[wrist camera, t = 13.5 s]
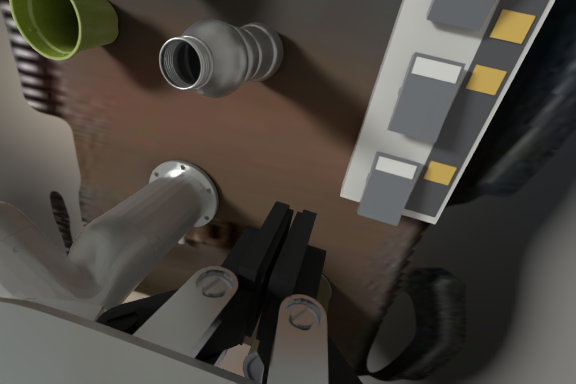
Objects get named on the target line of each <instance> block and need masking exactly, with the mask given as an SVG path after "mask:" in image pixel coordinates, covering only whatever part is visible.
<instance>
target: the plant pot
mask: <svg viewBox="0 0 576 384" xmlns="http://www.w3.org/2000/svg"><path fill="white" fill-rule="evenodd" d="M9 1H10V8H11V12H12V15H13V18H14V21H15V23H16V25H17V27H18V29H19V31H20V33H21V34H22V36H23V37H24V39H25V40H26V41H27V42H28V43H29V44H30V45H31V46H32V47H33V48H34V49H35V50H36V51H37V52H39V53H40V54H42V55H43V56H45V57H47V58H49V59H53V60H66V59H69V58H71V57H73V56H74V55H75V54H76V53H78V52H79V51H81V50H85V49H90V48H94V47H98V46H103V45H107V44H110V43H112V42H114V41H115V39H116V38H117V36H118V33H119V30H118V17H117V14H116V12H115V10H114V8H113V7H112V5H111V4H110V3H109V2H108V1H107V0H9Z"/></svg>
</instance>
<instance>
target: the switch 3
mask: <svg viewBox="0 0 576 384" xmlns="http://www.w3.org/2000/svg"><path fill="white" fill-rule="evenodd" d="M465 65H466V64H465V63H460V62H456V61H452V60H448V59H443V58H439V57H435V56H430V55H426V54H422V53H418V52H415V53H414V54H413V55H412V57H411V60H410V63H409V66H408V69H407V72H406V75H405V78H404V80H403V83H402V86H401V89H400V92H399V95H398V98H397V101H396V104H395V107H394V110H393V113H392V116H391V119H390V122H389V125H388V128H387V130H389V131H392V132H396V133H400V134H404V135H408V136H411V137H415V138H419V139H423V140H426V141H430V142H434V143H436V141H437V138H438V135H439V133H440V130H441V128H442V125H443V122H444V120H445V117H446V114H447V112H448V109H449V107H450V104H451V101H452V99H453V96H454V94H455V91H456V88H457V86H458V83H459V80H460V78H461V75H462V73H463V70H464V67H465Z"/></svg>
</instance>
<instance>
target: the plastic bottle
mask: <svg viewBox="0 0 576 384" xmlns="http://www.w3.org/2000/svg"><path fill="white" fill-rule="evenodd" d="M282 59H283V45H282V41H281V39H280V37H279V35H278V34H277V33H276V32H275V31H274V30H273V29H272V28H271V27H270V26H268V25H266V24H264V23H259V22H254V23H249V24H247V25H244V26H242V27H234V26H232V25H230V24H228V23H226V22H223V21H220V20H216V19H203V20H200V21H198V22H196V23H194V24H193V25H192V26H190V27H189V28H188V29H186V31H185V32H184V33H183V34H182V36H181V37H174V38H172V39H169V40H168V41H166V42H165V43H164V45H163V46H162V48H161V50H160V54H159V65H160V69H161V72H162V74H163V76H164V78H165V79H166V81H167V82H168V83H169V84H170V85H172V86H173V87H175V88H177V89H181V90H190V89H192V90H193V91H195V92H196V93H198V94H200V95H203V96H206V97H211V98H221V97H225V96H227V95H229V94H231V93H232V92H234V91H236V90H237V89H238V88H239V87H240V86H241V85H242V84H243V83H245V82H247V81H263V80H266V79H268V78H270V77H271V76H272V75H274V74H275V72H276V71H277V70H278V68H279V67H280V65H281V62H282Z"/></svg>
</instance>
